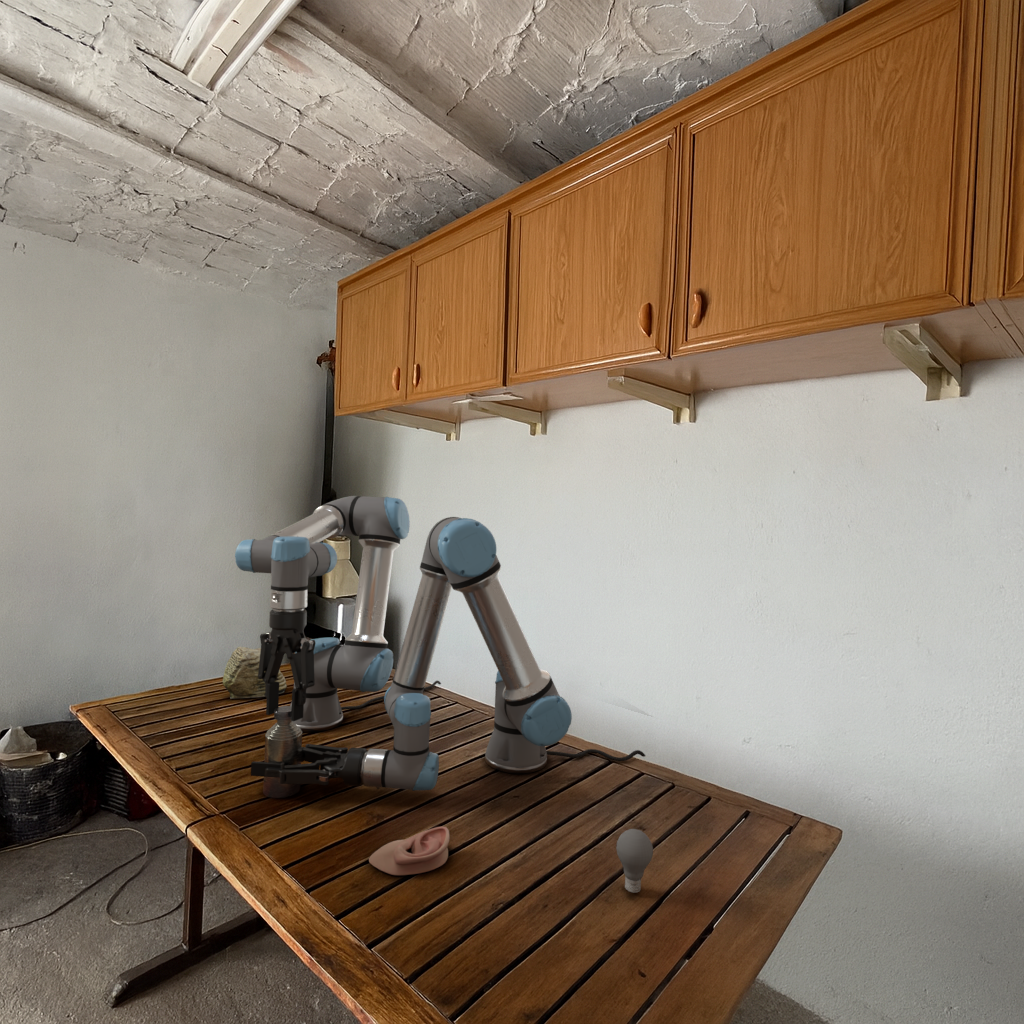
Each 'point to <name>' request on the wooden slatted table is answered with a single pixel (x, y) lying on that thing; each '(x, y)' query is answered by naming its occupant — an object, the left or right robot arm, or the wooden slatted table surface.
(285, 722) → the bottle
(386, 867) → the anatomical model
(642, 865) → the light bulb
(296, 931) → the wooden slatted table surface
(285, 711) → the cap
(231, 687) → the fossil
